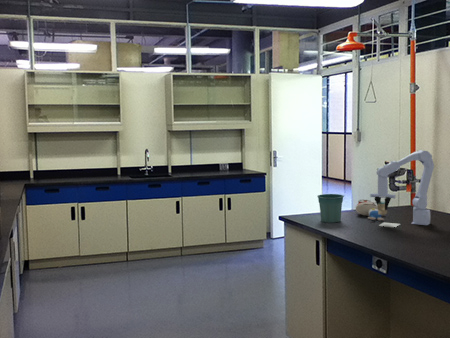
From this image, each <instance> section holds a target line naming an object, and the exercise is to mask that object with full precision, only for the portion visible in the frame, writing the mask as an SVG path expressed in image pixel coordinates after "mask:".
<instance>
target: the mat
mask: <svg viewBox="0 0 450 338" xmlns="http://www.w3.org/2000/svg"><path fill="white" fill-rule="evenodd" d="M378 226H379V227H383V226H384V227H385V228H394V227H395V228H397V226H398V227H399V226H401V223H396V222H395V223H394V222H393V223H392V222H382V223H380V224H379V225H378Z"/></svg>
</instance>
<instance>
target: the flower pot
mask: <svg viewBox="0 0 450 338" xmlns="http://www.w3.org/2000/svg"><path fill="white" fill-rule="evenodd" d="M344 197H345V196H344V194H340V193H339V194H338V193H322V194H318V195H317V200H318V203H319V213H320V221H321V222H324V223H328V224H329V223H330V224H333V223H337V222H338V223H339V222H341V220H342V218H341V217H342V206H343V201H344Z"/></svg>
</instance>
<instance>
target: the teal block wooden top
mask: <svg viewBox="0 0 450 338" xmlns="http://www.w3.org/2000/svg"><path fill="white" fill-rule="evenodd" d="M378 214H380V215H381V216H384V215H386V214H388V209H387V210H385V201H383V200H382V201H381V202H379V203H378Z"/></svg>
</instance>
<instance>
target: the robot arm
mask: <svg viewBox="0 0 450 338" xmlns="http://www.w3.org/2000/svg"><path fill="white" fill-rule="evenodd" d="M433 160H434V159H433V155H432V154H431V153H430V152H429V151H428V150H423V149H419V150H417V151H413V152H412V153H410V154H408V155H407V156H404V157H403V158H401V159H399V160H390V162H388V163H386V164H384V165H383V166H380V167H378V169H377V171H376V175H377V193H370V194H369V196H370V198H374V201H376V203H375V204H376V205H377V206H378V203H379V202H381V200H382V199H384V202H385V210H387V211H388V207H389V204H390V202H391V200H392V199H396V194H390V193H388V192H389V191H388V189H389V188H388V186H389V184H388V180H389V179H388V176H389V175H390V174H393V173H394V172H396V171H398V170H399V169H400V168H401V166H403V165H406V164H408V163H410V162H412V161H419V162H420V163H421V164H422V165H423V170H422V174H421V177H420V182H419V186H418V189H417V192H416V194H415V196H414V198H413V199H412V206H413V209H412V222H411V223H410V224H411V225H421V226H429V225H430V224H431V210H430V209H427V206H428V195H427V194H428V190H429V187H430V183H431V179H432V175H433V171H434V168H435V164H434V161H433Z"/></svg>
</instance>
